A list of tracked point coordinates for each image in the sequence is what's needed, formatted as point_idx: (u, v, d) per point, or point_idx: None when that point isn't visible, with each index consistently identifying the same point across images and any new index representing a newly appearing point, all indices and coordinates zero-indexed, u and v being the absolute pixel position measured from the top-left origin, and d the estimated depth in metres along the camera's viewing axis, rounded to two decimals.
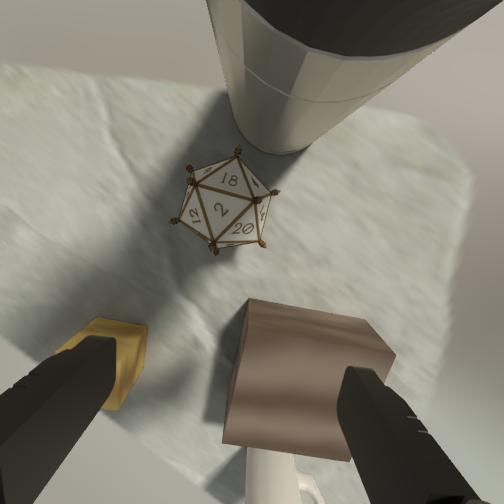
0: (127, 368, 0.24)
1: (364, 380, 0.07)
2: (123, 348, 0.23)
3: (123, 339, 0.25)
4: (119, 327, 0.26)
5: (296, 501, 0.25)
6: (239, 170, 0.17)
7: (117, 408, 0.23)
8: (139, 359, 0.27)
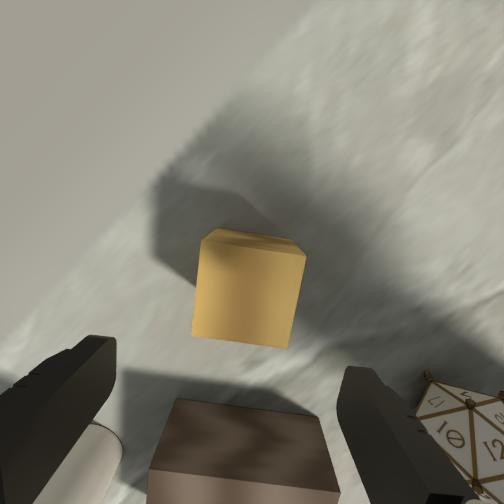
0: None
1: (364, 380, 0.07)
2: None
3: None
4: None
5: None
6: None
7: (196, 335, 0.14)
8: None
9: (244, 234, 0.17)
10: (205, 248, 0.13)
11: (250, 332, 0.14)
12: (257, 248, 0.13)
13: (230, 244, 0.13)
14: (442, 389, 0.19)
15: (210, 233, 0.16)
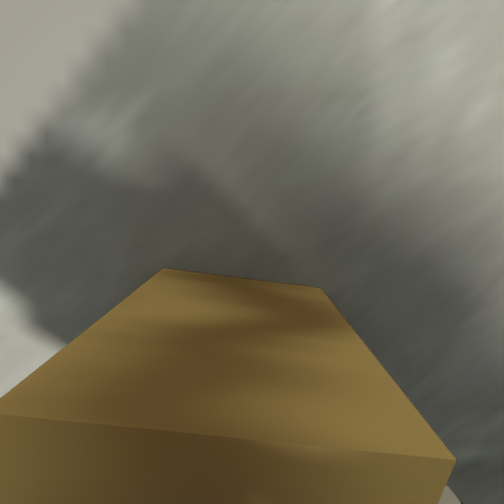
0: None
1: None
2: None
3: None
4: None
5: None
6: None
7: None
8: None
9: (218, 290, 0.07)
10: (10, 441, 0.03)
11: None
12: (244, 427, 0.03)
13: (127, 414, 0.03)
14: None
15: (114, 308, 0.05)
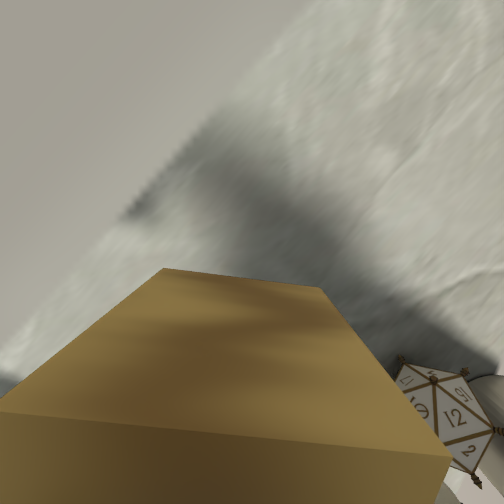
0: None
1: None
2: None
3: None
4: None
5: None
6: None
7: None
8: None
9: (218, 290, 0.07)
10: (13, 439, 0.03)
11: None
12: (244, 424, 0.03)
13: (128, 412, 0.03)
14: (412, 369, 0.22)
15: (114, 307, 0.06)
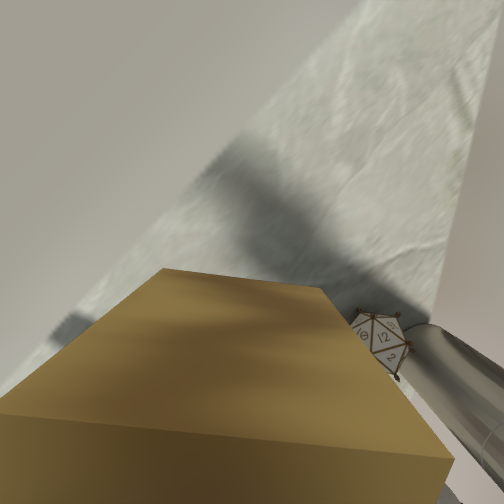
0: None
1: None
2: None
3: None
4: None
5: None
6: (405, 356, 0.29)
7: None
8: None
9: (218, 290, 0.07)
10: (11, 441, 0.03)
11: None
12: (243, 426, 0.03)
13: (127, 414, 0.03)
14: (363, 314, 0.32)
15: (114, 308, 0.05)
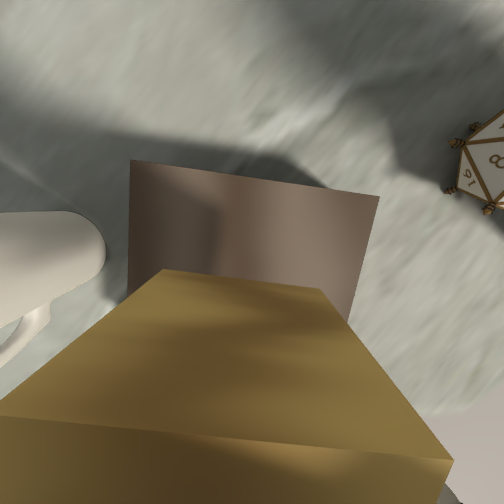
0: None
1: None
2: None
3: None
4: None
5: (26, 310, 0.14)
6: None
7: None
8: None
9: (218, 291, 0.07)
10: (11, 442, 0.03)
11: None
12: (243, 428, 0.03)
13: (127, 416, 0.03)
14: (498, 114, 0.16)
15: (114, 309, 0.05)
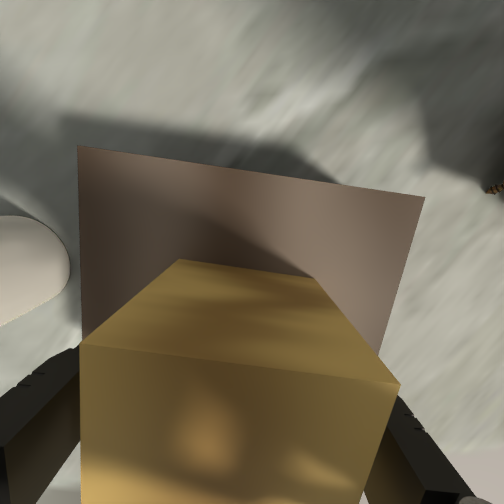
0: None
1: None
2: None
3: None
4: None
5: None
6: None
7: None
8: None
9: (228, 277, 0.09)
10: (95, 364, 0.04)
11: None
12: (255, 360, 0.04)
13: (174, 349, 0.04)
14: None
15: (147, 286, 0.07)
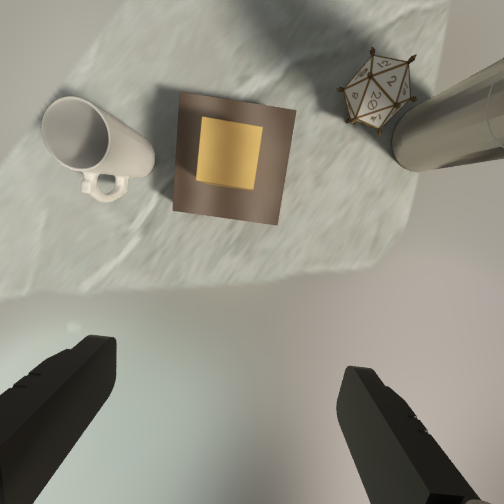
0: (234, 186, 0.25)
1: (364, 380, 0.07)
2: None
3: None
4: None
5: (128, 165, 0.28)
6: (406, 97, 0.28)
7: (199, 180, 0.24)
8: (226, 186, 0.28)
9: None
10: (204, 121, 0.23)
11: (231, 178, 0.24)
12: None
13: (219, 120, 0.23)
14: None
15: None
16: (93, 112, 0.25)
